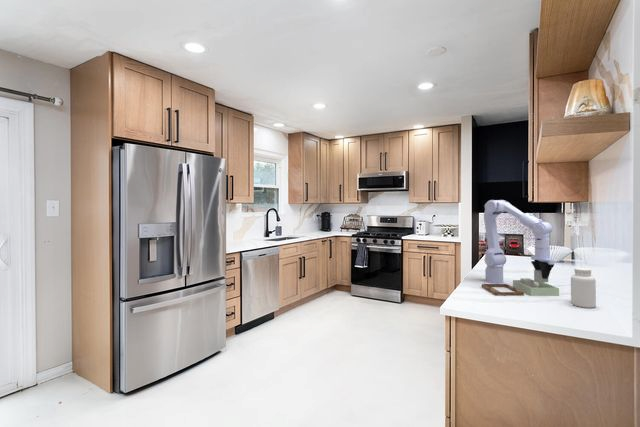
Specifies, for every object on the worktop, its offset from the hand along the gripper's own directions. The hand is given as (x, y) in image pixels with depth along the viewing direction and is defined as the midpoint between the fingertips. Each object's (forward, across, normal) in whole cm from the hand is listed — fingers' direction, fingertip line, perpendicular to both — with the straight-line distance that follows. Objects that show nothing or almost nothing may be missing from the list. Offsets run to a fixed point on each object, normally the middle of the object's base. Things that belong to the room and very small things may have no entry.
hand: (542, 277), depth 152 cm
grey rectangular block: (+7, -5, -4) cm, 10 cm away
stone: (+2, 0, 0) cm, 2 cm away
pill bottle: (+8, +18, +6) cm, 20 cm away
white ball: (+7, -8, +2) cm, 11 cm away
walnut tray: (+8, -3, -17) cm, 19 cm away
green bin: (+8, -2, -2) cm, 8 cm away
